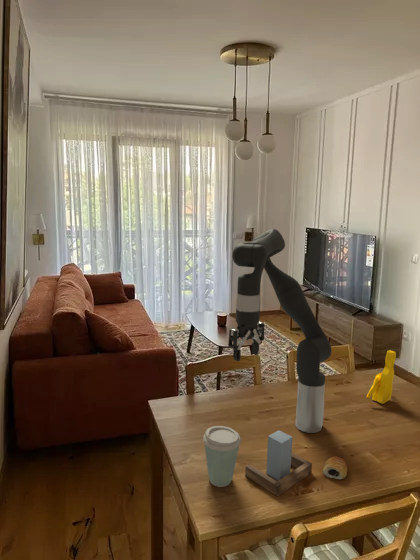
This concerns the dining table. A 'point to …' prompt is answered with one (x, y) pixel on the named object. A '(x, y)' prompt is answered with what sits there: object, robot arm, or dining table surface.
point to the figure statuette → (384, 380)
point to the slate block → (279, 455)
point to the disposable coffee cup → (221, 454)
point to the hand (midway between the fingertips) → (246, 357)
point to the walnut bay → (287, 481)
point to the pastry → (335, 468)
